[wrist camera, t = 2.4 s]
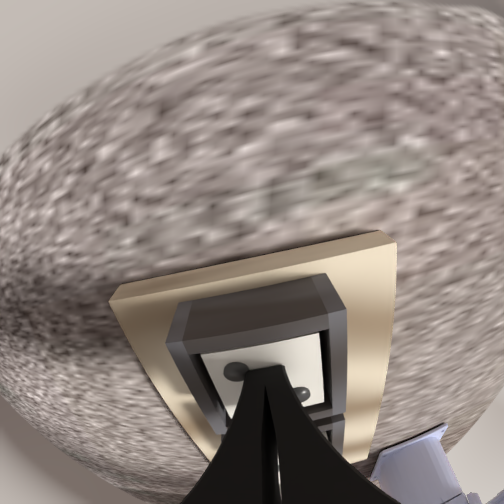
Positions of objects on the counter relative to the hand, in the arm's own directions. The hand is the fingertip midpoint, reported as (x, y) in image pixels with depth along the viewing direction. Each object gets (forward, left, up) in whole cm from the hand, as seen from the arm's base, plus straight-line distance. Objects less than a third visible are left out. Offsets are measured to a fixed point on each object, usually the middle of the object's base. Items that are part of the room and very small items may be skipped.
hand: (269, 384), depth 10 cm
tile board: (-7, 0, -4) cm, 8 cm away
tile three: (0, 0, -2) cm, 2 cm away
